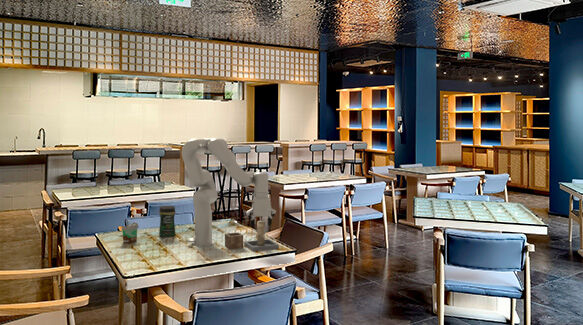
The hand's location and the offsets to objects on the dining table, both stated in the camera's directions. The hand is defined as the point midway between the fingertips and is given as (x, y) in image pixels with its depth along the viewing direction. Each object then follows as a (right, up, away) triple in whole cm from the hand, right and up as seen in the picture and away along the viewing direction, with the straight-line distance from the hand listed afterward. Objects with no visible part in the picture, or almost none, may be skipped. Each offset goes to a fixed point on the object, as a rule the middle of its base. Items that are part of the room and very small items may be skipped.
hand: (261, 226), depth 257 cm
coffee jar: (-59, -10, +30) cm, 67 cm away
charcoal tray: (0, -12, +1) cm, 12 cm away
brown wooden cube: (-15, -12, 0) cm, 19 cm away
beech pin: (0, -11, +1) cm, 11 cm away
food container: (-75, -11, +15) cm, 78 cm away
